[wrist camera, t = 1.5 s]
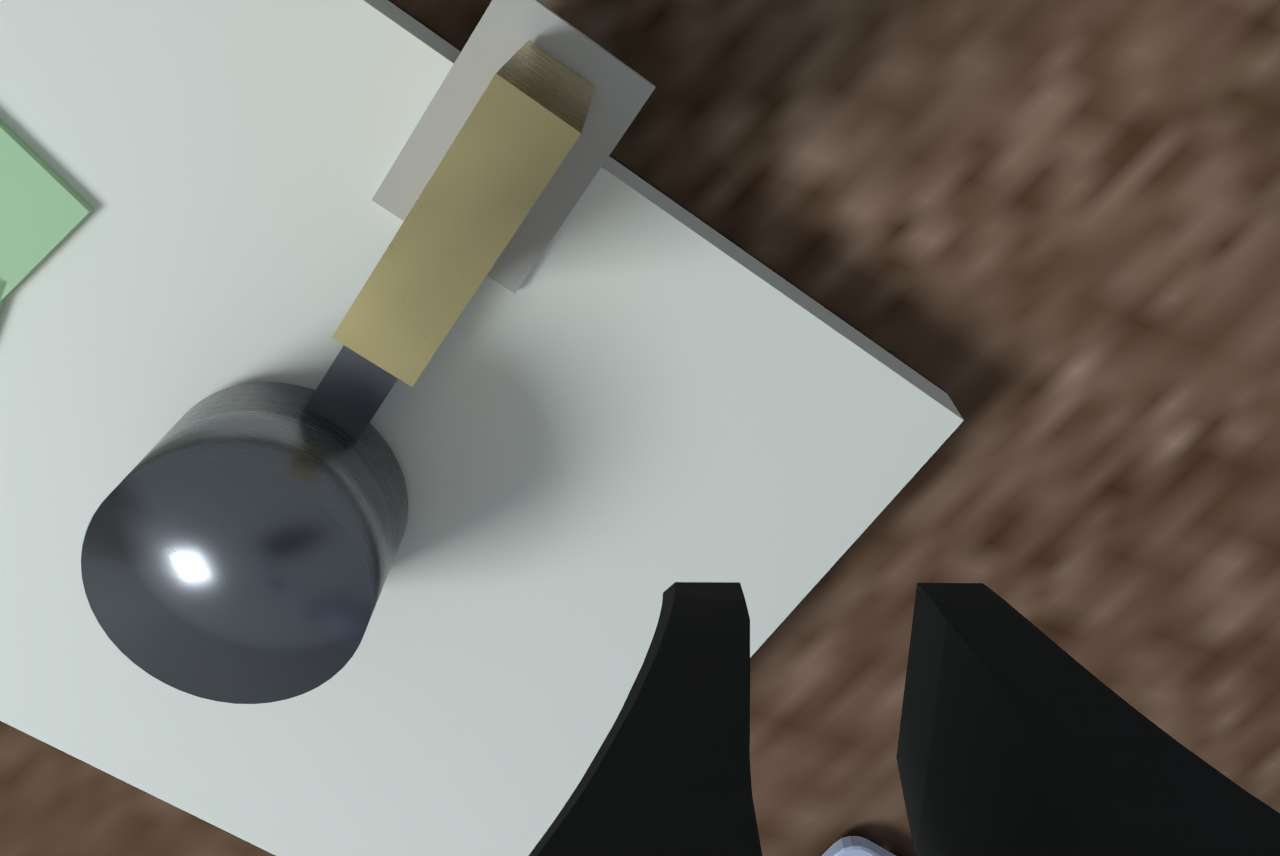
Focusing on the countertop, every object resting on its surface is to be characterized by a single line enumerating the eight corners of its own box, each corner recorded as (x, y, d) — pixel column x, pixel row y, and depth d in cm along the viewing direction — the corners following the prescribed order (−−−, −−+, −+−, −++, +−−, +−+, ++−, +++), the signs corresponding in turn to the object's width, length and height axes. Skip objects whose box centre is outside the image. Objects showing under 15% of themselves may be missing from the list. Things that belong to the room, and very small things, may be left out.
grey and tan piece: (334, 640, 21) (268, 790, 18) (118, 523, 20) (1, 655, 17) (681, 148, 17) (689, 210, 14) (437, -28, 16) (375, -11, 13)
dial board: (1002, 331, 20) (1026, 358, 19) (488, 912, 26) (480, 963, 25) (23, -386, 16) (-31, -413, 15) (-324, 506, 22) (-384, 542, 21)
